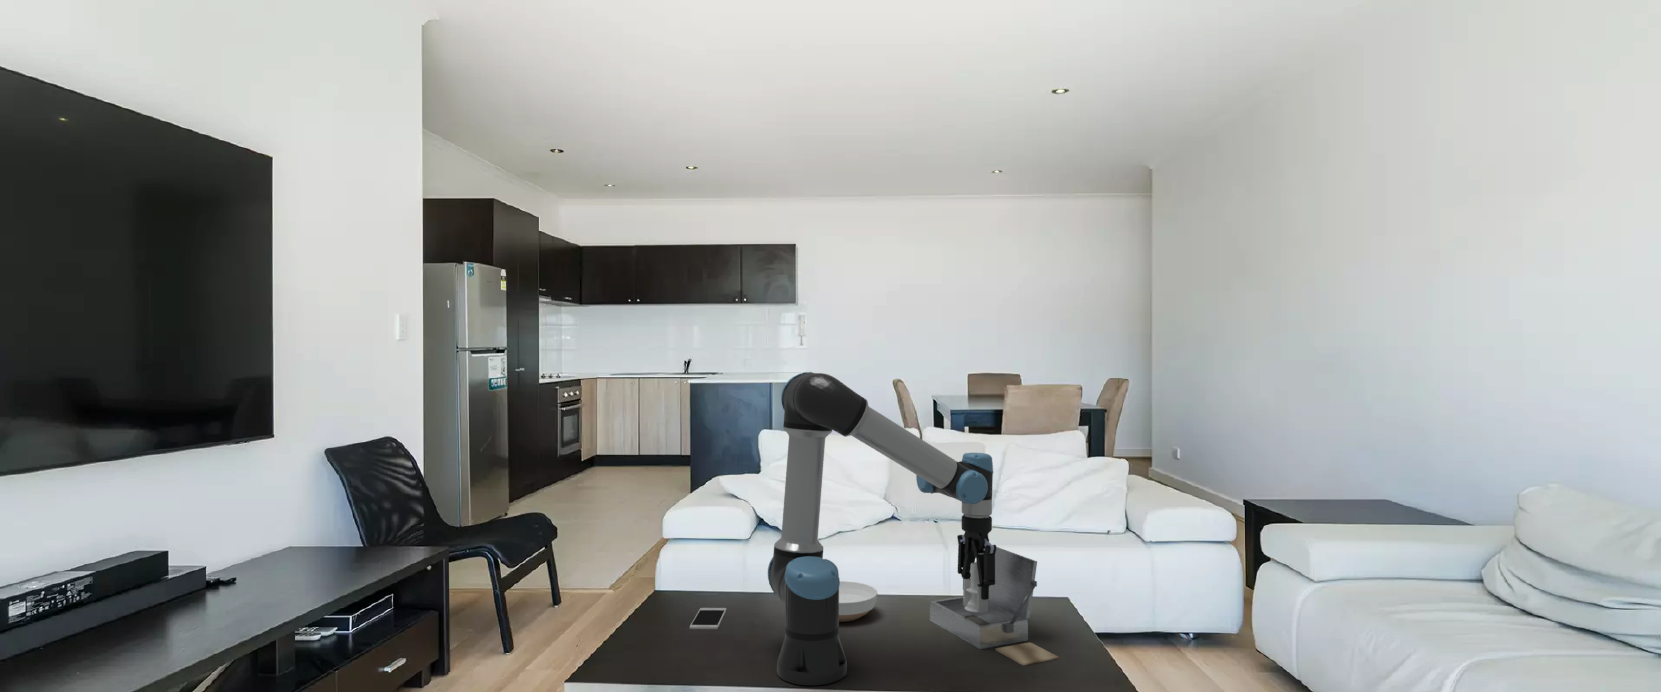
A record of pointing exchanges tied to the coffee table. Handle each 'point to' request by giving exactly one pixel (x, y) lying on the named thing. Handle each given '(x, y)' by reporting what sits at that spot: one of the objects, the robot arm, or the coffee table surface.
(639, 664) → the coffee table surface
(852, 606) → the bowl
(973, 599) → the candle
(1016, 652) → the mat
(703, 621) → the smartphone
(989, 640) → the case
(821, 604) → the robot arm
